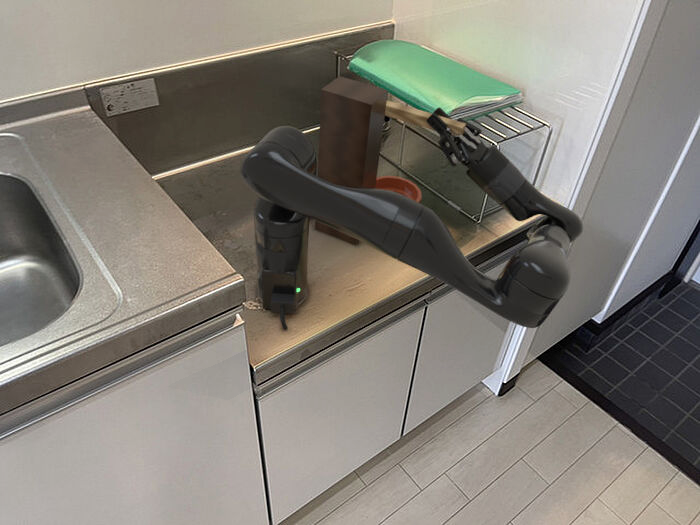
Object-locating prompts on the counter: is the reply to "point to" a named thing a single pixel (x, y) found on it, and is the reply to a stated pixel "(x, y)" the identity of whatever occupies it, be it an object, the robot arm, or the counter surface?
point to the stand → (350, 137)
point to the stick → (419, 117)
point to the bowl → (399, 187)
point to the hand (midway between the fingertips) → (432, 113)
